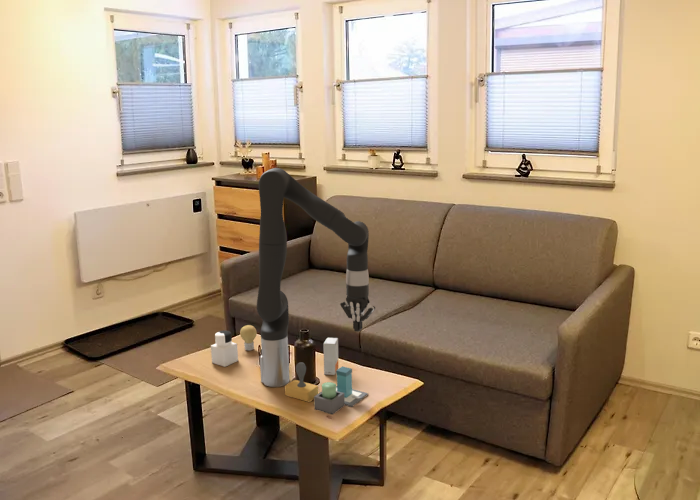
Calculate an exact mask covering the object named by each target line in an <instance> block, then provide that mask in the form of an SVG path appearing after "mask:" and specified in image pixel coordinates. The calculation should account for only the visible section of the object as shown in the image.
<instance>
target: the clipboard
mask: <svg viewBox="0 0 700 500" xmlns="http://www.w3.org/2000/svg"><path fill="white" fill-rule="evenodd" d="M336 391H337V385H336ZM367 396H368V392H364V391H361V390H358V389H354V388H352V394H351V395H350V396H348V397H347V398H345V397H344V403H345V406H347V407H354V406H355V405H357V404H358V403H359V402H360V401H362V400H363V399H364V398H365V397H367Z"/></svg>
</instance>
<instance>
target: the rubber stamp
mask: <svg viewBox="0 0 700 500" xmlns="http://www.w3.org/2000/svg"><path fill="white" fill-rule="evenodd" d="M295 372H296V374H297V377H298V379H299V380H298V379H294V380H292V381H289V383H288V384H286V385H284V393H285V394H284V395H285V396H286V397H291V398H293V399H297V400H301V401H305V402H308V403H310V402H312V401H314V396H316V395H317V394H319V386H318V385H317V384H316V385H315V384H313V383H309V382H305V381H304V379H305V375H306V372H307V366H306V364H305V363H304V362H301V361H300V362H297V364H296V365H295Z"/></svg>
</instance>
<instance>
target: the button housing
mask: <svg viewBox="0 0 700 500" xmlns="http://www.w3.org/2000/svg"><path fill="white" fill-rule="evenodd" d="M313 405H314V408H313V409H314V410H316V411H318V412H322V413H325V414H329V415H334V414H335V413H337V412H338V411H340V410H341V409H342V408H344V407H345V406H346V405H345V403H344V393H342V392H339V391H336V397H335V398H333V399H332V400H330V399H326V398H323V397H322V391H320V392H318V394H317V395H316V396H314V399H313Z"/></svg>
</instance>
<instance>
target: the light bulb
mask: <svg viewBox="0 0 700 500" xmlns="http://www.w3.org/2000/svg"><path fill="white" fill-rule="evenodd" d="M239 332H240V333H239V334H240V338H241V339H242V340H243V341H244V342H243V344H244V345H243V346H244V350H245V351H250V352H251V351H252V350H254V348H255V345H254V343H255V342H254V340H255V339H256V337H257V328H255V326H253V325H251V324H247V325H244V326H243V327H241V328H240V331H239Z"/></svg>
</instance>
